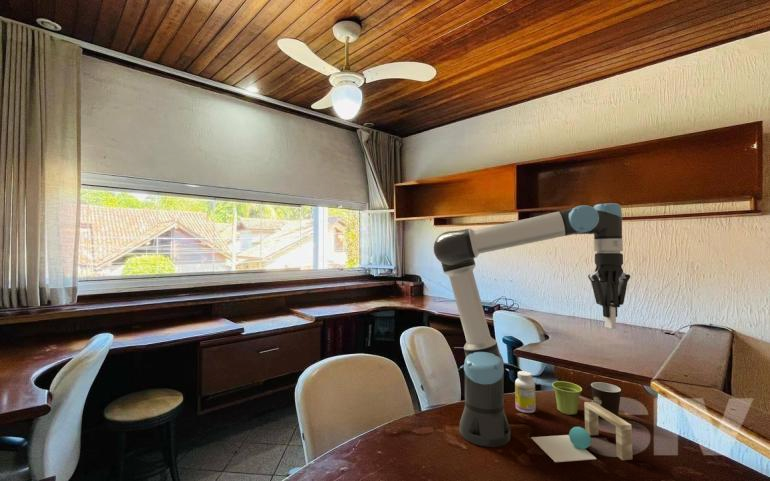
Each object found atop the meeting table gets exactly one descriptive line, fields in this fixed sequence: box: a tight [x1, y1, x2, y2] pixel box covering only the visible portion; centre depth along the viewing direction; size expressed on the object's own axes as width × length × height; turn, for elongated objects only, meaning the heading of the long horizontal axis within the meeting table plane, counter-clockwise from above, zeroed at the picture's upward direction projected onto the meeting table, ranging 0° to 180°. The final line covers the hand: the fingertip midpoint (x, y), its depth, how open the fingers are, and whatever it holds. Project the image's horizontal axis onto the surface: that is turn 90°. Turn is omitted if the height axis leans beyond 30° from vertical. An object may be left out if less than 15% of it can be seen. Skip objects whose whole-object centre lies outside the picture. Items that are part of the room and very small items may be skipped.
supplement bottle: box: [514, 370, 536, 414], centre depth 122 cm, size 7×7×13 cm
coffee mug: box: [586, 381, 622, 422], centre depth 118 cm, size 12×9×10 cm
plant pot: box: [551, 380, 583, 416], centre depth 120 cm, size 9×9×9 cm
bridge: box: [583, 401, 634, 461], centre depth 99 cm, size 3×14×9 cm, turn 6°
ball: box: [568, 426, 592, 449], centre depth 98 cm, size 6×6×6 cm
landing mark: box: [530, 434, 598, 463], centre depth 98 cm, size 12×12×1 cm
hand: (610, 327), depth 107 cm, fingers closed
